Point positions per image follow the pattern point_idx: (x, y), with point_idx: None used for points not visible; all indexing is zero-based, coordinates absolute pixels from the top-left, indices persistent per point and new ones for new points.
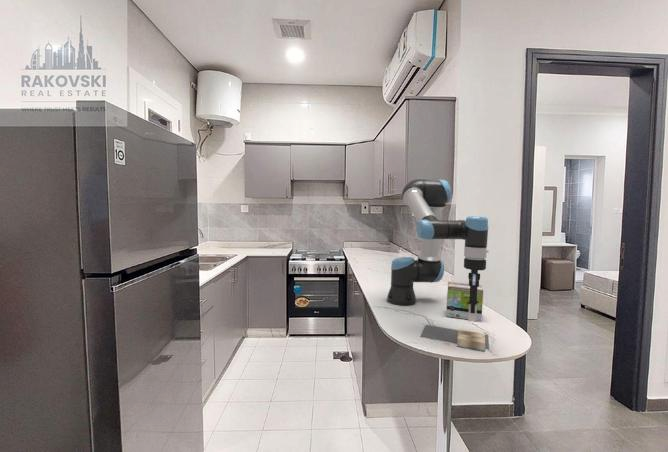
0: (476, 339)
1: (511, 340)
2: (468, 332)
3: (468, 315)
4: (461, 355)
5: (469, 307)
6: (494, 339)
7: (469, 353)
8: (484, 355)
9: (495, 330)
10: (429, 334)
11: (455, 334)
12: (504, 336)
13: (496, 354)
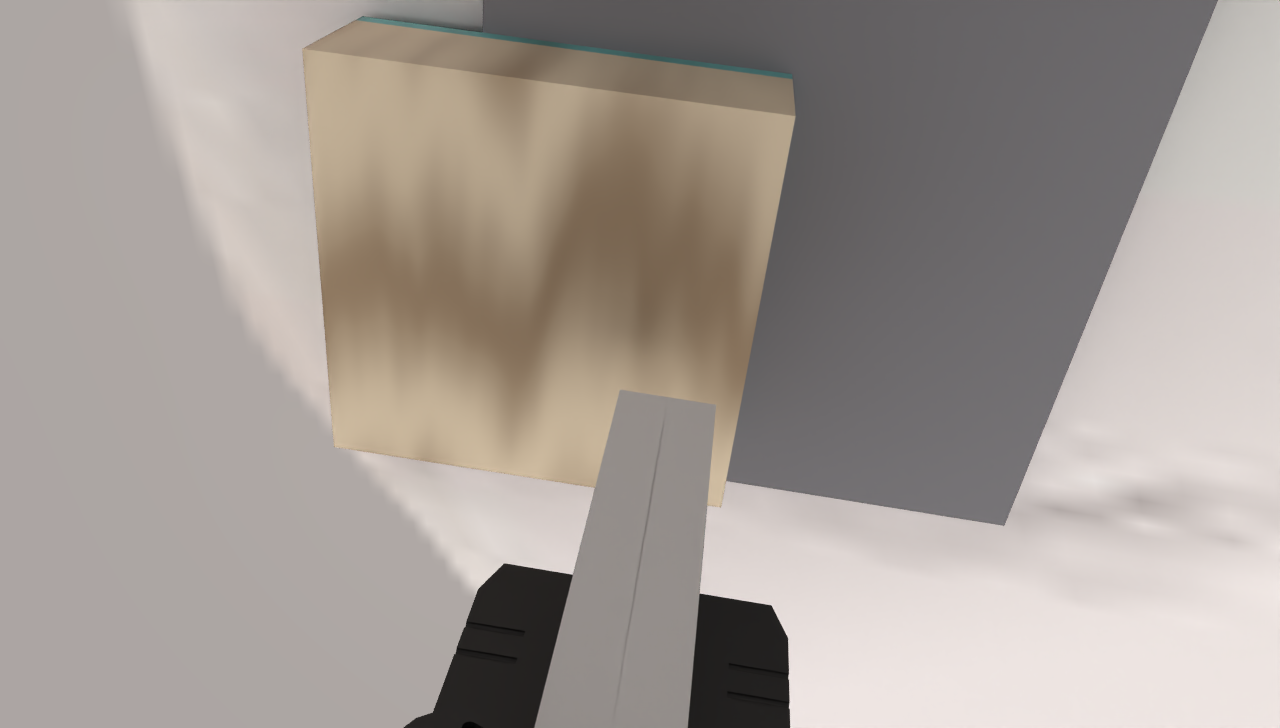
0: (420, 357)
1: (925, 711)
2: (695, 279)
3: (602, 469)
4: (147, 56)
5: (558, 656)
6: (910, 558)
7: (280, 178)
8: (322, 352)
9: (1275, 640)
10: None
11: (919, 27)
12: (1049, 680)
13: (424, 482)
